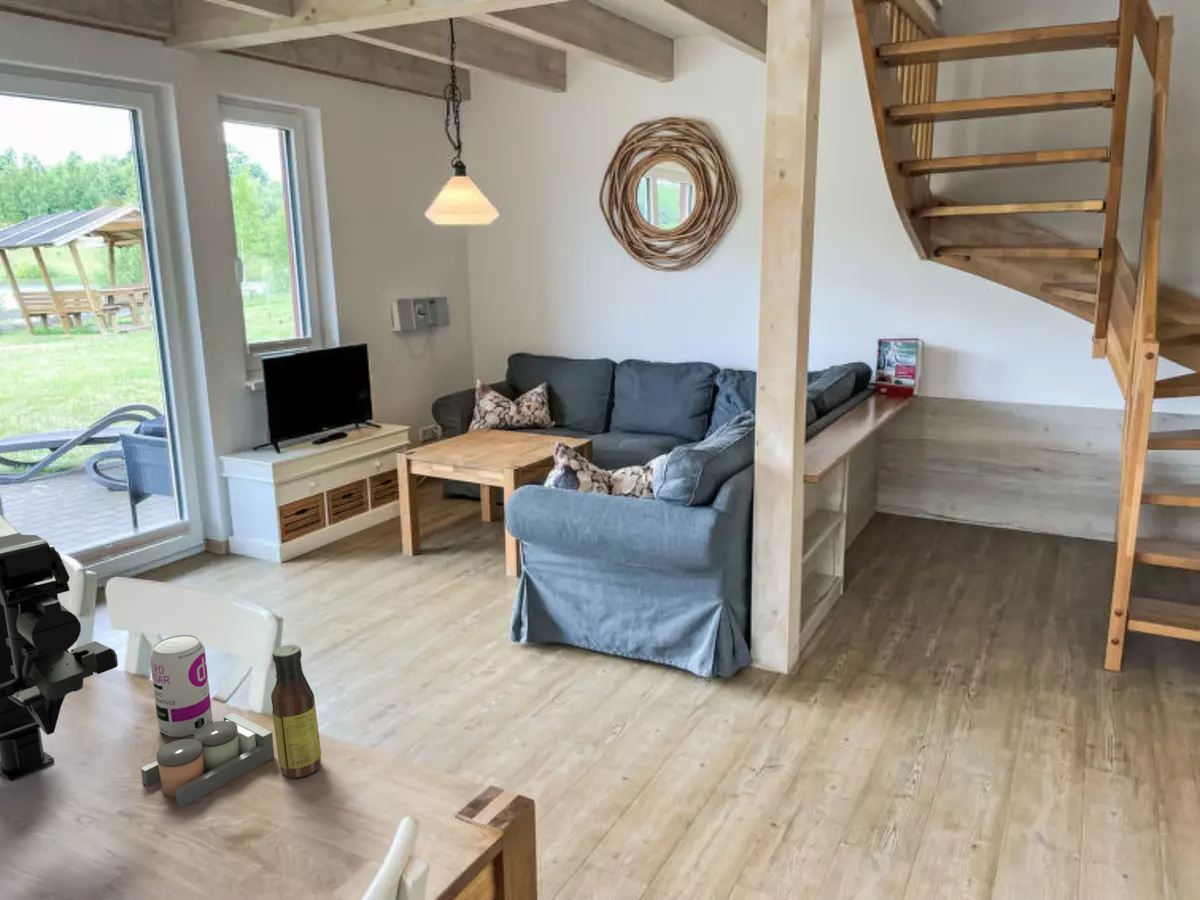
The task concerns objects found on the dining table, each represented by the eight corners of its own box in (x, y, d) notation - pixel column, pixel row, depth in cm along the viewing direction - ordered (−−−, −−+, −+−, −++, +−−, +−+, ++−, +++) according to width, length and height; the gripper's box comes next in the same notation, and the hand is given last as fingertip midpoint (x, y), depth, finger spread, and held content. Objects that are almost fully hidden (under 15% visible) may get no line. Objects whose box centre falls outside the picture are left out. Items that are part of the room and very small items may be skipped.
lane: (142, 783, 137) (139, 757, 136) (234, 736, 149) (232, 712, 148) (182, 807, 131) (178, 780, 130) (274, 757, 144) (272, 732, 143)
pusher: (223, 747, 146) (220, 722, 145) (229, 744, 147) (227, 719, 146) (250, 762, 142) (248, 736, 141) (257, 758, 143) (254, 733, 142)
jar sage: (189, 767, 141) (185, 734, 139) (225, 749, 146) (221, 716, 144) (213, 781, 137) (209, 746, 136) (249, 761, 142) (245, 728, 141)
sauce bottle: (330, 761, 143) (320, 644, 138) (305, 783, 137) (294, 662, 132) (295, 753, 145) (284, 638, 140) (269, 775, 139) (257, 655, 134)
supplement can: (221, 714, 156) (212, 634, 153) (196, 740, 148) (186, 656, 145) (176, 712, 157) (166, 632, 154) (149, 738, 149) (138, 654, 146)
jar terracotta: (152, 787, 136) (147, 753, 134) (191, 768, 141) (187, 734, 139) (175, 802, 132) (171, 767, 131) (214, 781, 137) (210, 747, 136)
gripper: (-17, 673, 113) (3, 784, 116) (131, 621, 128) (144, 721, 131) (-55, 650, 119) (-35, 756, 122) (90, 603, 134) (104, 699, 137)
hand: (49, 733), depth 128 cm, fingers closed
